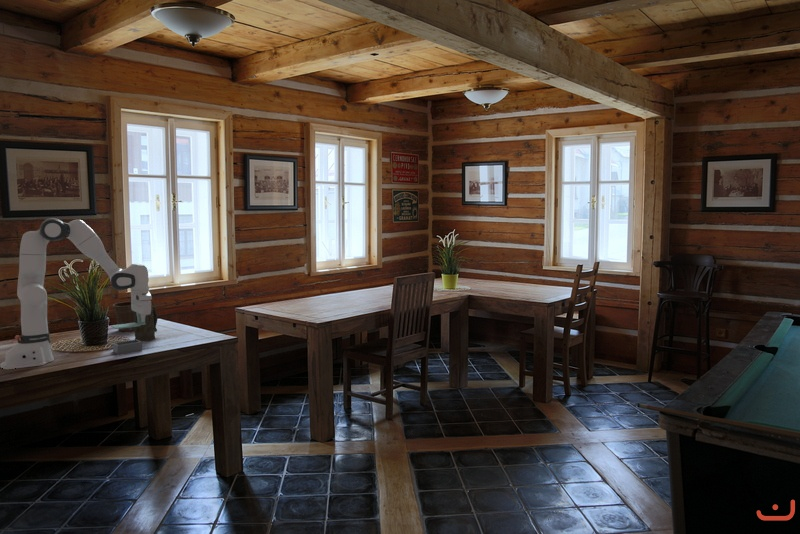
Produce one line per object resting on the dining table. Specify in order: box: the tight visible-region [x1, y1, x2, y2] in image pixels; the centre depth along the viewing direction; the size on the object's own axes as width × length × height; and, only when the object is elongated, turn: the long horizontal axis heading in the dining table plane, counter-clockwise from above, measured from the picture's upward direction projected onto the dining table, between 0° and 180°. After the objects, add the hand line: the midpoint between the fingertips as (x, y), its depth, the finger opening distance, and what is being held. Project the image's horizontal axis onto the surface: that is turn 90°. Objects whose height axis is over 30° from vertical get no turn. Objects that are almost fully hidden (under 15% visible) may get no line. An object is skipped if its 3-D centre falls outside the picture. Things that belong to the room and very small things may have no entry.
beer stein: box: [133, 304, 159, 343], centre depth 349 cm, size 15×11×20 cm
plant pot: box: [112, 301, 134, 333], centre depth 376 cm, size 16×16×16 cm
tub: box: [112, 339, 143, 355], centre depth 320 cm, size 12×8×5 cm, turn 131°
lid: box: [110, 316, 146, 330], centre depth 320 cm, size 16×8×4 cm, turn 131°
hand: (141, 321), depth 324 cm, fingers closed on lid, 3 cm apart
